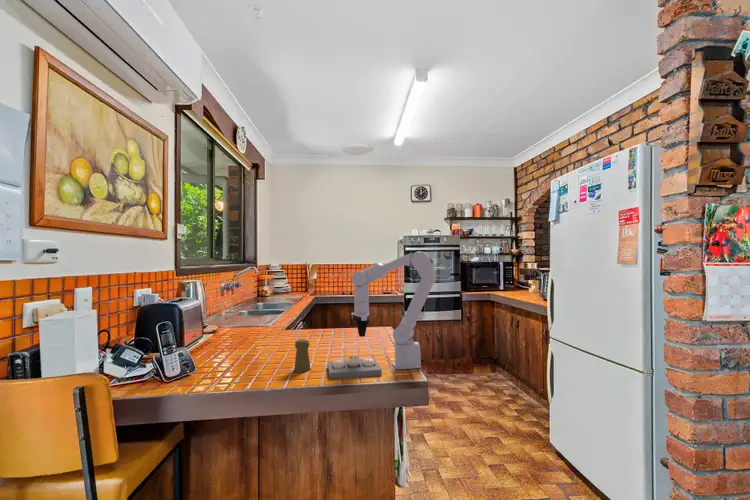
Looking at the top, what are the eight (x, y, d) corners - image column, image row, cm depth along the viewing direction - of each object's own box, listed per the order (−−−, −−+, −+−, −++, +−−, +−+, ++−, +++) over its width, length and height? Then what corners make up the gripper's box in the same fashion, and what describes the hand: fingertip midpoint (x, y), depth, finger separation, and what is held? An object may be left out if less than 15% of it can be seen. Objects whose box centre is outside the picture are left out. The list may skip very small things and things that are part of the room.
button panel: (374, 364, 143) (374, 359, 143) (381, 375, 129) (381, 369, 129) (328, 367, 139) (327, 361, 139) (329, 378, 126) (329, 373, 126)
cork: (312, 367, 140) (312, 338, 140) (308, 372, 134) (307, 341, 134) (296, 367, 140) (296, 338, 140) (291, 372, 134) (291, 341, 134)
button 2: (358, 363, 136) (358, 355, 136) (359, 366, 133) (359, 358, 133) (348, 364, 136) (347, 356, 136) (349, 367, 132) (348, 358, 132)
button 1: (372, 366, 137) (372, 358, 137) (374, 369, 133) (374, 360, 134) (362, 367, 137) (362, 358, 137) (364, 370, 133) (364, 361, 133)
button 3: (343, 368, 135) (343, 359, 135) (344, 371, 132) (344, 362, 132) (333, 369, 135) (332, 360, 135) (333, 372, 131) (333, 363, 131)
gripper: (349, 300, 152) (349, 333, 151) (353, 304, 138) (353, 340, 137) (366, 299, 153) (366, 332, 153) (372, 303, 139) (372, 339, 138)
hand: (361, 336), depth 145 cm, fingers closed
